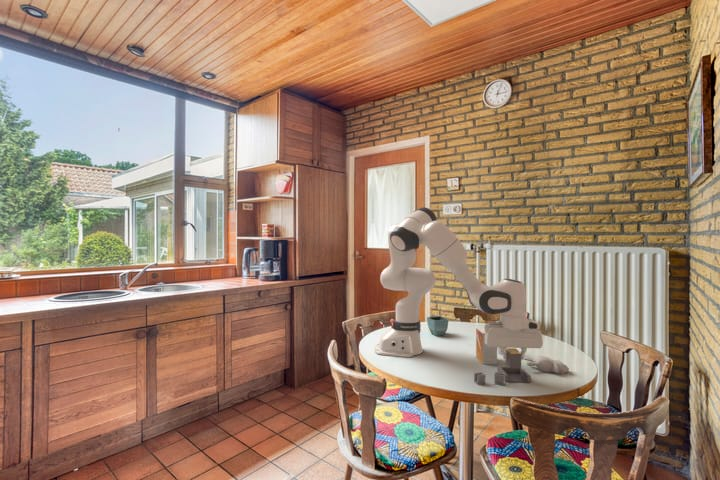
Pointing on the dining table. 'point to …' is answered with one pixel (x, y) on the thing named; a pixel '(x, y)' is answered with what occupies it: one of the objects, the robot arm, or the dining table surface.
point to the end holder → (514, 374)
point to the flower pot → (437, 325)
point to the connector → (513, 358)
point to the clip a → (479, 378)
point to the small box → (484, 348)
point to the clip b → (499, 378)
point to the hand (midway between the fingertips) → (513, 358)
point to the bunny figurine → (547, 365)
